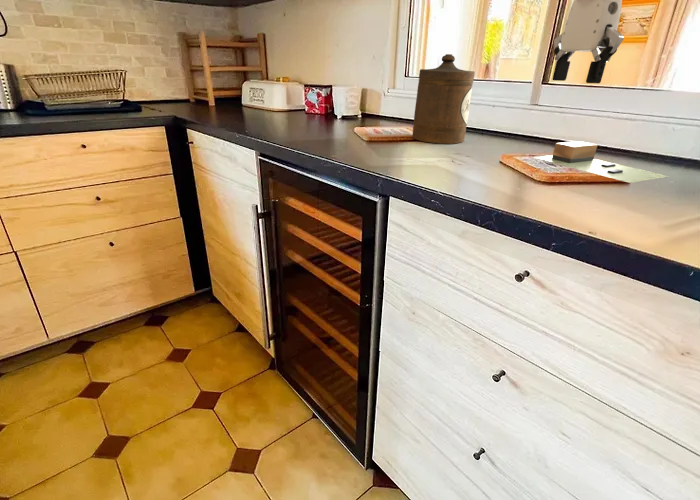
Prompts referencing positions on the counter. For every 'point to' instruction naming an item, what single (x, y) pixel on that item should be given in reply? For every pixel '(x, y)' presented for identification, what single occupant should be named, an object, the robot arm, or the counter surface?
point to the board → (596, 168)
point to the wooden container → (442, 103)
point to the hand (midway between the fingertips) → (575, 81)
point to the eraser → (574, 151)
